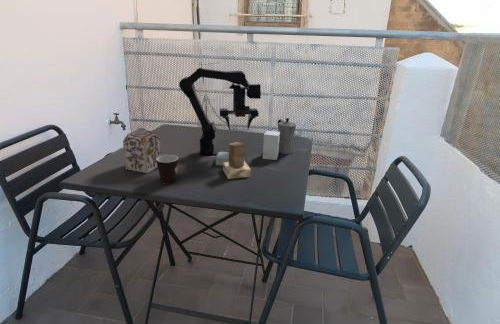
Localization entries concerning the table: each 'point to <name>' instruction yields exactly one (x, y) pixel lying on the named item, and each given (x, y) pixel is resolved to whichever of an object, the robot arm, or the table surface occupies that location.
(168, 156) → the coffee mug
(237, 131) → the table surface
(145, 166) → the decorative jar
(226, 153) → the slate block
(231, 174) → the beech block
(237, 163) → the walnut block
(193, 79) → the robot arm
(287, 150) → the coffeepot
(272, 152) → the supplement box
